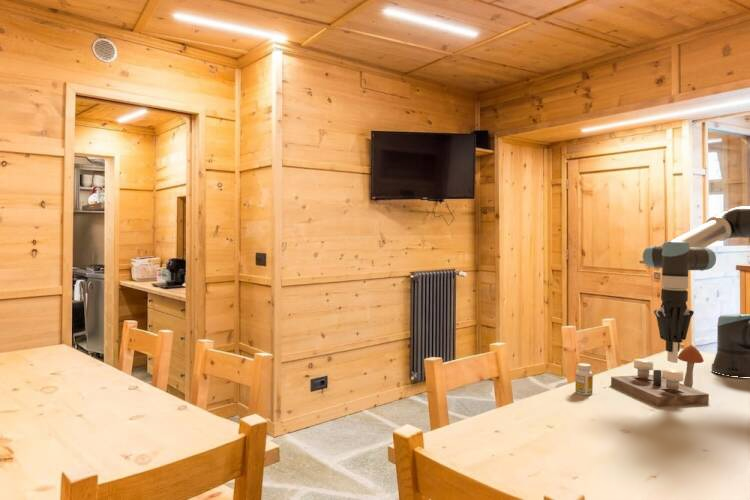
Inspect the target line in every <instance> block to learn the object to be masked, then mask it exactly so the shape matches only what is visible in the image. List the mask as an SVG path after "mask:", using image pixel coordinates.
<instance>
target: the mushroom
mask: <svg viewBox="0 0 750 500" xmlns="http://www.w3.org/2000/svg"><path fill="white" fill-rule="evenodd" d="M703 358H704V357H703V356H702V354H701V352H700V351H699V350H698V348H696V347H695V346H694V345H692V344H690V345H688V346H686V347H685V348H683V349H682V350H681V351H679V354H678V360H679V361H682V362H685V363H686V371H685V375H684V378H683V385H685V386H688V387H691V388H693V384H694V374H693V373H694V366H695V364H701V363H704V362H705V361H704V359H703Z"/></svg>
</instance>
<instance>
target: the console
mask: <svg viewBox="0 0 750 500" xmlns="http://www.w3.org/2000/svg"><path fill="white" fill-rule="evenodd" d="M610 377H611V378H610V380H611V381H610V385H611V386H612V387H614V388H617V389H619V390H621V391H623V392H625V393H628V394H629V395H632V396H635V397H637V398H639V399H640V400H643V401H644V402H648V403H650V404H652V405H654V406H656V407H660V408H661V407H672V406H673V407H674V406H676V407H677V406H690V405H691V406H692V405H693V406H694V405H705V403H709V401H710V399H709V397H710V396H709V395H710V393H706V392H704V391H702V390H699V389H696V388H693V387H688V386H685V385H684V383H683V384H682V383H680V382H679V389H677V390H674V389H668V388H666V380H665V379H663V378H662V376H661V386H655V385H653V374H649V378H641V377H638V374H637V375H619V376H617V375H615V376H610Z"/></svg>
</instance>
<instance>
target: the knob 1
mask: <svg viewBox="0 0 750 500" xmlns="http://www.w3.org/2000/svg"><path fill="white" fill-rule="evenodd" d="M633 368H634V369H637V375H638V377H641V378H649V375H650V371H654V361H653V360H650V359H645V358H636V359H633Z"/></svg>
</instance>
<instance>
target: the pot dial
mask: <svg viewBox="0 0 750 500" xmlns="http://www.w3.org/2000/svg"><path fill="white" fill-rule="evenodd" d="M652 373H653V374H652V375H653V385H655V386H661V377H662V370H661V369H660V368H658V369H657V368H656V369H655V368H653V371H652Z"/></svg>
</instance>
